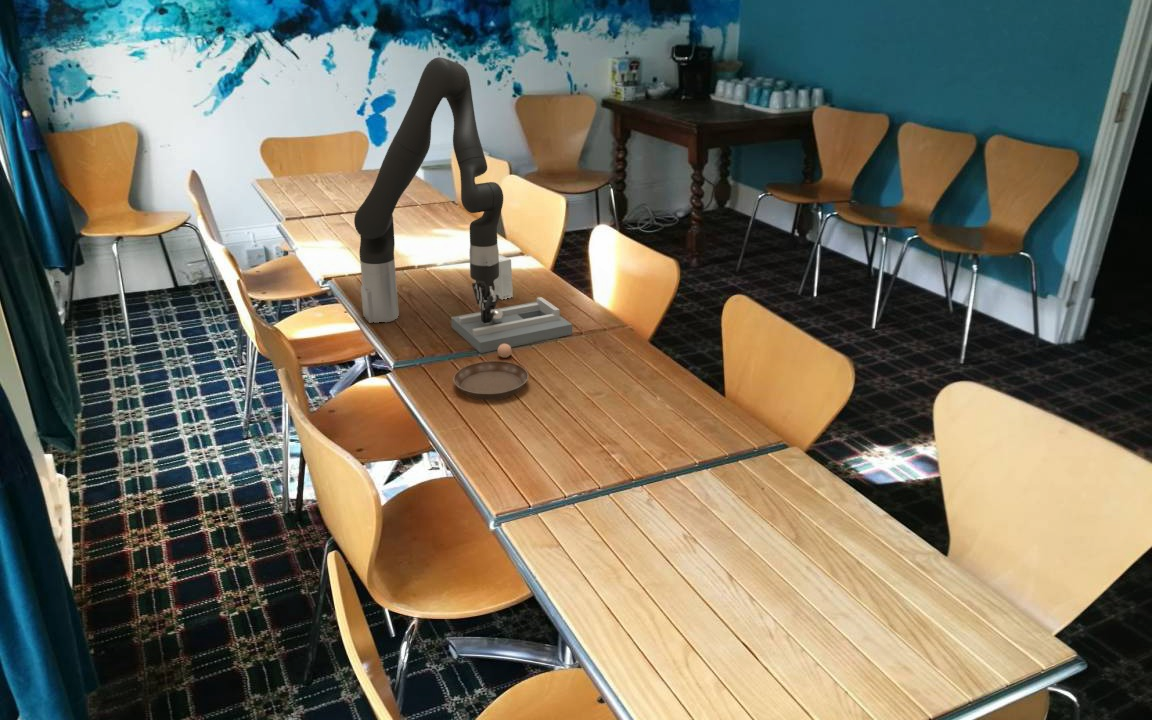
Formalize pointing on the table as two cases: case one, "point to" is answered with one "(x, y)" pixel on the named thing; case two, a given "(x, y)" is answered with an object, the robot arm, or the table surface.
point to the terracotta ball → (504, 350)
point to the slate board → (513, 326)
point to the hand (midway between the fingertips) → (486, 321)
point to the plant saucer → (491, 379)
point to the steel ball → (496, 316)
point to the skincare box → (504, 279)
